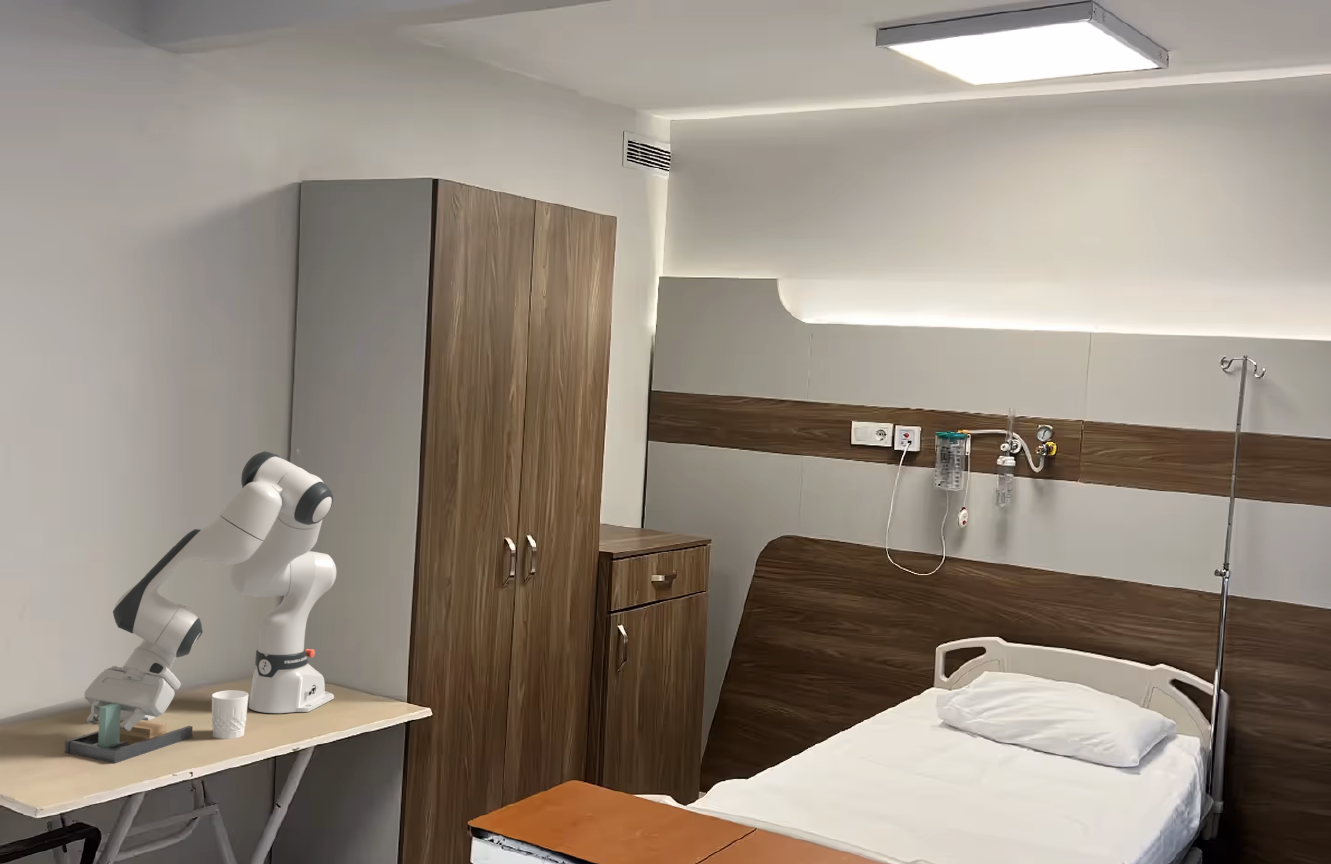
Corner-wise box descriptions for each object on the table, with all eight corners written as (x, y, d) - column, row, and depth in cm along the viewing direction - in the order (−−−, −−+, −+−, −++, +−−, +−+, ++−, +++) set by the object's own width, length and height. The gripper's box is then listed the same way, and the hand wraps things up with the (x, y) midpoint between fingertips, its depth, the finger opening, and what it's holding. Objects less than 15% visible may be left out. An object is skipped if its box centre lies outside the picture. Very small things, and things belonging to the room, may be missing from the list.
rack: (144, 731, 280) (144, 717, 279) (191, 740, 274) (192, 726, 274) (64, 756, 259) (65, 740, 259) (114, 767, 254) (115, 751, 254)
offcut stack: (133, 734, 274) (134, 716, 274) (168, 741, 270) (169, 723, 270) (111, 741, 268) (112, 723, 268) (146, 748, 265) (147, 730, 264)
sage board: (112, 748, 263) (114, 702, 263) (119, 750, 263) (120, 704, 262) (97, 753, 260) (99, 706, 259) (104, 754, 259) (106, 708, 259)
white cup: (209, 734, 280) (211, 690, 280) (245, 732, 283) (247, 689, 283) (210, 744, 273) (212, 699, 273) (247, 742, 276) (249, 698, 276)
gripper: (101, 657, 271) (63, 710, 262) (173, 669, 263) (136, 724, 255) (116, 673, 275) (79, 726, 266) (187, 685, 268) (151, 740, 259)
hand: (107, 725), depth 260 cm, fingers open, 8 cm apart
